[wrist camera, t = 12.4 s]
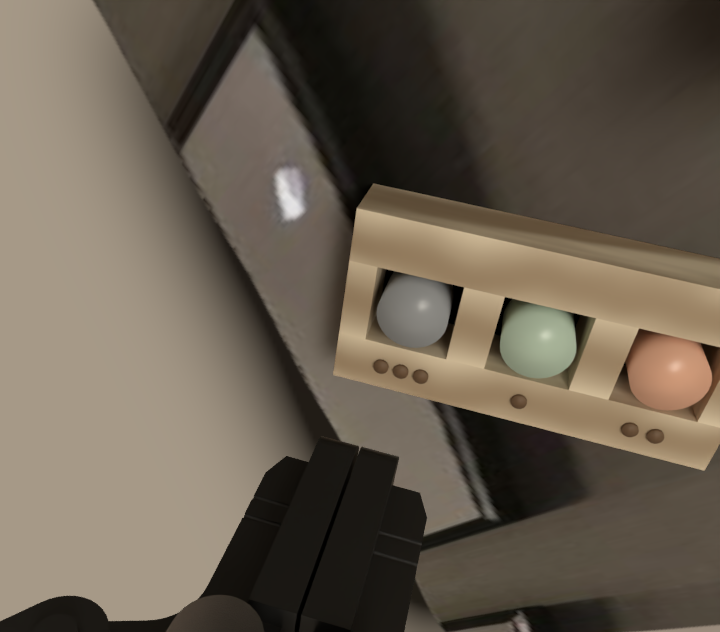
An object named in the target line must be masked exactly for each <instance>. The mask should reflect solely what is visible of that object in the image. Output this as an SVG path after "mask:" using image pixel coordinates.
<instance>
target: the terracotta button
mask: <svg viewBox="0 0 720 632" xmlns="http://www.w3.org/2000/svg"><path fill="white" fill-rule="evenodd" d="M625 362H626V368H627V373H628V378H629V384H630V388H631V391H632V393H633V394H634V396H635V397H636V398H637V399H638V400H639V401H640V402H642V403H643V404H645V405H647V406H649V407H651V408H654V409H659V410H679V409H683V408H686V407H689V406H691V405H693V404H695V403H697V402H698V401H699V400H701V399H702V398H703V397H704V396H705V395H706V393H707V392H708V390H709V388H710V386H711V383H712V372H711V369H710V366H709V364H708V361H707V358H706V356H705V353H704V350H703V348H702V345H701V343H699V342H695V341H691V340H687V339H682V338H678V337H674V336H670V335H665V334H661V333H657V332H653V331H648V330H644V329H640V328H639V330H638V332H637V334H636V337H635V339H634V341H633V344H632V346H631V348H630V351H629V353H628V355H627V358H626V360H625Z"/></svg>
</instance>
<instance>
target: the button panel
mask: <svg viewBox="0 0 720 632" xmlns="http://www.w3.org/2000/svg"><path fill="white" fill-rule="evenodd" d="M386 269H388V270H392V271H396V272H401V273H405V274H409V275H413V276H418V277H422V278H426V279H430V280H435V281H439V282H443V283H448V284H452V285H456V286H460V287H463V291H462V295H461V299H460V303H459V307H458V311H457V315H456V319H455V323H454V324H450V323H448V324H447V328H446V330H445V332H444V334H443V335H442V337H441V338H440V339H439V340H438V341H436V342H435V343H433V344H431V345H429V346H425V347H420V348H411V347H405V346H402V345H400V344H397V343H395V342H394V341H392V340H391V339H389V338H388V337H387V336H386V335H385V334H384V332H383V331H382V330H381V328H380V326H379V323H378V320H377V307H378V304H379V301H380V299H381V297H382V291H383V285H384V280H385V274H386ZM505 297H507V298H512V299H516V300H520V301H524V302H529V303H533V304H537V305H541V306H546V307H550V308H554V309H559V310H563V311H567V312H571V313H576V314H580V317H579V320H578V322H577V325H576V328H575V335H576V354H575V357H574V359H573V361H572V363H571V364H570V365H569V367H568V368H566V369H565V370H564V371H563V372H561V373H559V374H557V375H555V376H552V377H548V378H530V377H526V376H523V375H521V374H518V373H517V372H515V371H514V370H512V369H511V368H510V367H509V366H508V365H507V364H506V363H505V361H504V360H503V358H502V355H501V352H500V340H501V336H500V335H495V334H494V333H495V329H496V326H497V323H498V319H499V316H500V312H501V309H502V305H503V302H504V299H505ZM639 328H640V329H644V330H648V331H653V332H657V333H661V334H665V335H670V336H674V337H678V338H682V339H687V340H691V341H695V342H699V343H703V344H702V348H703V350H704V353H705V356H706V358H707V361H708V364H709V366H710V369H711V372H712V383H711V386H710V388H709V390H708V392H707V393H706V395H705V396H704V397H703V398H702V399H701V400H699V401H698V402H697V403H695V404H693V405H691V406H689V407H686V408H683V409H679V410H659V409H654V408H651V407H649V406H647V405H645V404H643V403H642V402H640V401H639V400H638V399H637V398H636V397H635V396H634V394H633V393H632V391H631V388H630V384H629V378H628V373H627V368H626V366H624V362H625V360H626V358H627V355H628V353H629V351H630V348H631V346H632V344H633V341H634V339H635V337H636V334H637V332H638V330H639ZM333 375H336V376H340V377H344V378H348V379H352V380H356V381H359V382H363V383H367V384H371V385H375V386H379V387H383V388H387V389H390V390H394V391H398V392H402V393H406V394H410V395H414V396H418V397H421V398H425V399H429V400H433V401H437V402H441V403H445V404H449V405H452V406H456V407H460V408H464V409H468V410H472V411H476V412H479V413H483V414H487V415H491V416H495V417H499V418H503V419H507V420H510V421H514V422H518V423H522V424H526V425H530V426H534V427H538V428H541V429H545V430H549V431H553V432H557V433H561V434H565V435H569V436H572V437H576V438H580V439H584V440H588V441H592V442H596V443H600V444H603V445H607V446H611V447H615V448H619V449H623V450H627V451H630V452H634V453H638V454H642V455H646V456H650V457H654V458H658V459H661V460H665V461H669V462H673V463H677V464H681V465H685V466H689V467H692V468H696V469H700V470H705V469H706V467H707V465H708V463H709V462H710V460H711V458H712V456H713V455H714V453H715V451H716V449H717V448H718V446H719V444H720V259H719V258H714V257H709V256H705V255H700V254H696V253H691V252H686V251H682V250H677V249H673V248H668V247H663V246H659V245H654V244H650V243H645V242H640V241H636V240H631V239H627V238H622V237H617V236H613V235H608V234H604V233H599V232H594V231H590V230H585V229H581V228H576V227H571V226H567V225H562V224H558V223H553V222H548V221H544V220H539V219H535V218H530V217H525V216H521V215H516V214H512V213H507V212H502V211H498V210H493V209H489V208H484V207H479V206H475V205H470V204H466V203H461V202H456V201H452V200H447V199H443V198H438V197H433V196H429V195H424V194H420V193H415V192H410V191H406V190H401V189H397V188H392V187H387V186H383V185H378V184H374V183H373V185H372V186H371V188H370V189H369V191H368V192H367V194H366V195H365V197H364V198H363V200H362V201H361V203H360V204H359V206H358V207H357V210H356V217H355V225H354V232H353V239H352V246H351V253H350V260H349V267H348V274H347V281H346V288H345V295H344V302H343V309H342V316H341V323H340V330H339V337H338V344H337V351H336V358H335V365H334V372H333Z"/></svg>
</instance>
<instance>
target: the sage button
mask: <svg viewBox="0 0 720 632" xmlns="http://www.w3.org/2000/svg"><path fill="white" fill-rule="evenodd" d="M500 352H501V355H502V358H503V360H504V361H505V363H506V364H507V365H508V366H509V367H510V368H511V369H512V370H514V371H515V372H517V373H518V374H521V375H523V376H526V377H530V378H548V377H552V376H555V375H557V374H559V373H561V372H563V371H564V370H565V369H566V368H568V367H569V365H570V364H571V363H572V361H573V359H574V357H575V354H576V335H575V321H574V313H571V312H567V311H563V310H559V309H554V308H550V307H546V306H541V305H537V304H533V303H529V302H524V301H520V300H516V299H512V300H511V301H510V302H509V303H508V305H507V306H506V308H505V311H504V314H503V321H502V330H501V340H500Z"/></svg>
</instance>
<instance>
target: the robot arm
mask: <svg viewBox="0 0 720 632" xmlns="http://www.w3.org/2000/svg"><path fill="white" fill-rule="evenodd" d="M358 451H359V446H356V445H352V444H349V443H345V442H341V441H337V440H334V439H330V438H326V437H323V436H321V437H320V439H319V441H318V443H317V445H316V447H315V449H314V452H313V454H312V456H311V458H310V461H309V462H306V461H302V460H299V459H295V458H292V457H288V456H286V457H285V458H284V459H282V460H281V461H280V462H278V463H277V464H276V465H275V466H273V467H272V468H271V469H270V470H268V471H267V472H266V473H265V475H264V477H263V479H262V481H261V483H260V485H259V487H258V489H257V491H256V493H255V495H254V498H253V499H252V500H251V502H250V504H249V506H248V508H247V510H246V512H245V515H244V518H242V520H241V522H240V524H239V526H238V528H237V530H236V532H235V534H234V536H233V538H232V540H231V541H230V544H229V545H228V547H227V549H226V551H225V553H224V555H223V557H222V559H221V561H220V563H219V565H218V567H217V569H216V571H215V573H214V575H213V577H212V578H211V580H210V582H209V584H208V586H207V588H206V589H205V591H204V593H203V594H202V595H201V596H200V597H199V598H198V599H197V600H196V601H194V602H192V603H190V604H189V605H187V606H186V607H184V608H183V610H181V611H180V612H179V613H177V614H175V615H172V616H169V617H167V618H163V619H158V620H148V621H108V619H107V616H106V614H105V613H104V611H103V609H102V608H101V607H100V606H98V604H96V603H95V602H93V601H91V600H89V599H86V598H83V597H78V596H61V597H56V598H52V599H48V600H46V601H43V602H41V603H39V604H36V605H34V606H32V607H30V608H28V609H26V610H24V611H21V612H19V613H18V614H15V615H13V616H11V617H9V618H6V619H4V620H2V621H0V632H404V630H405V624H406V620H407V614H408V609H409V604H410V599H411V594H412V590H413V585H414V580H415V575H416V570H417V564H418V560H419V555H420V550H421V544H422V540H423V535H424V530H425V525H426V520H427V516H426V513H425V509H424V506H423V502H422V499H421V495H420V493H418V492H415V491H411V490H408V489H404V488H400V487H397V486H393V482H394V478H395V474H396V469H397V465H398V460H399V457H397V456H394V455H390V454H386V453H382V452H379V451H375V450H371V449H368V448H364V447H361V449H360V451H359V454H358Z"/></svg>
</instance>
